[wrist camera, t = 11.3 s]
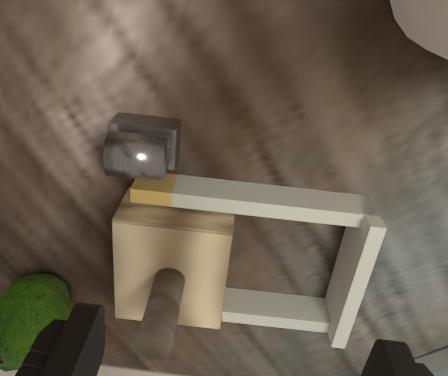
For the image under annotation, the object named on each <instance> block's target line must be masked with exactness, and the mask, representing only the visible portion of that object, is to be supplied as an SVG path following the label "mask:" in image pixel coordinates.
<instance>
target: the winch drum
mask: <svg viewBox="0 0 448 376" xmlns="http://www.w3.org/2000/svg"><path fill="white" fill-rule="evenodd" d="M180 130H181V119H173V118H164V117H156V116H147V115H138V114H129V113H120V112H119V113H118V114H117V115H116V117H115V118H114V119H113V120H112V121H111V123H110V131H109V133H108V134H107V137H106V140H105V144H104V151H103V167H104V172H105V174H106V175H109V176H118V177H127V178H136V179H145V180H154V181H163V182H164V181H165V180H166V177H167V172H168V169H170V170H175V167H176V164H177V161H178V159H179V148H180Z"/></svg>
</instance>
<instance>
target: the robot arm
mask: <svg viewBox="0 0 448 376" xmlns="http://www.w3.org/2000/svg"><path fill="white" fill-rule="evenodd" d="M104 348H105V317H104V306H103V305H97V304H89V303H80V302H77V303H76V304H75V305H74V307H73V309H72V311H71V313H70V315H69V317H68V319H67V320H59V319H54V320H53V321H51V322H50V323H49V324H48V325H47V326H46V327H45V328H44V329H42V330H41V331H40V332H39V333H38V335H37V337H36V339H35V341H34V342H33V344H32V346H31V348H30V351H29V353H27V355H26V357H25V359H24V360H23V362H22V366H21V367H20V368H19V369H18V371H17V373H16V375H15V376H97V373H98V370H99V367H100V365H101V361H102V358H103V353H104ZM361 376H434V375H433V374H432V373H431V372H430V371H429V369H428V368H427V367H426V366H425V365H424V364H422V363H415V361H414V358H413V356H412V354H411V351H410V349H409V347H408V345H407V344H406V343H404V342H399V341H390V340H382V339H378V340H376V342H375V343H374V346H373V348H372V350H371V353H370V355H369V357H368V360H367V362H366V364H365V367H364V369H363V371H362V375H361Z"/></svg>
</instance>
